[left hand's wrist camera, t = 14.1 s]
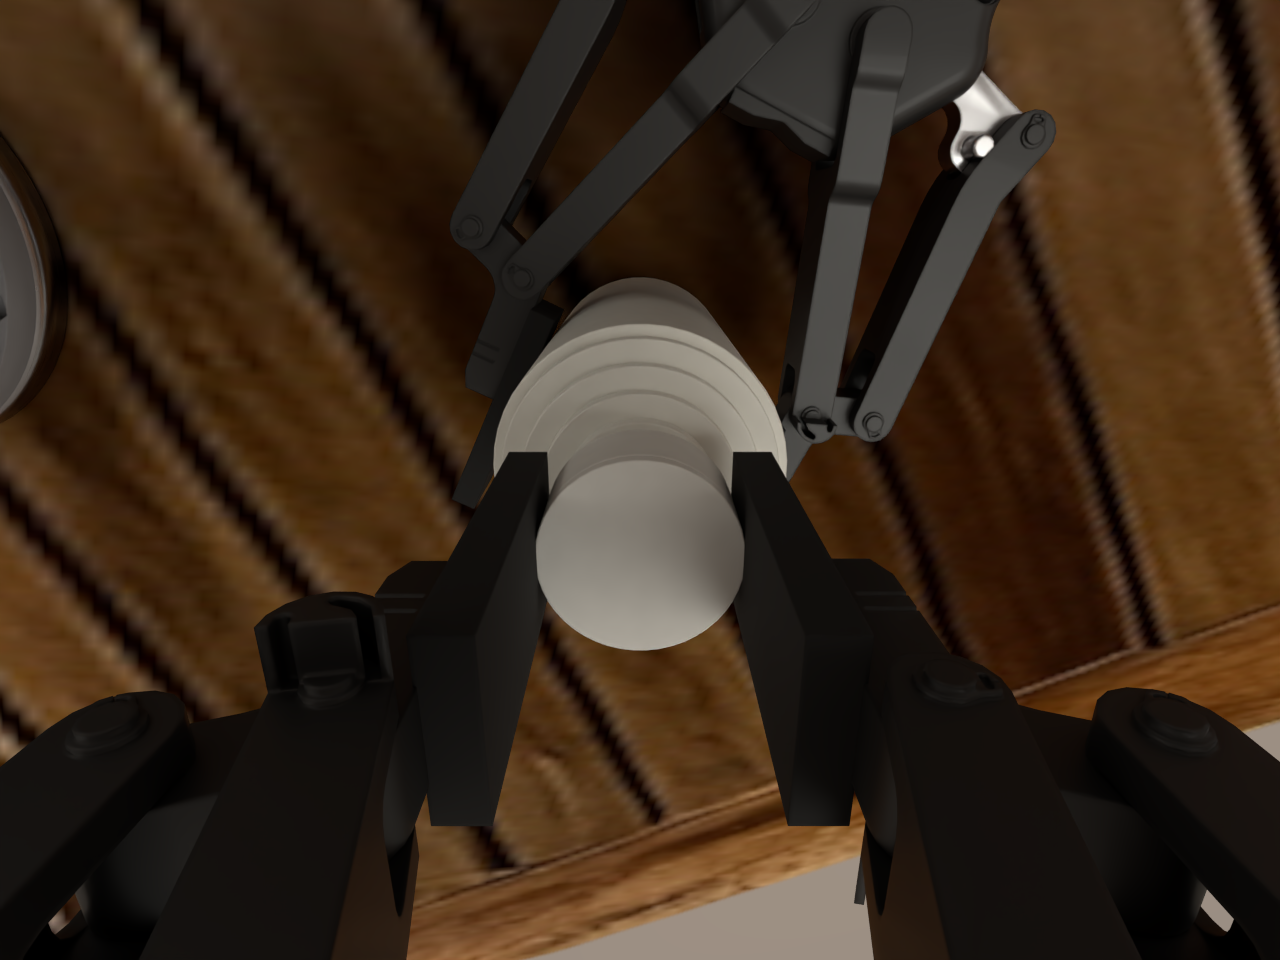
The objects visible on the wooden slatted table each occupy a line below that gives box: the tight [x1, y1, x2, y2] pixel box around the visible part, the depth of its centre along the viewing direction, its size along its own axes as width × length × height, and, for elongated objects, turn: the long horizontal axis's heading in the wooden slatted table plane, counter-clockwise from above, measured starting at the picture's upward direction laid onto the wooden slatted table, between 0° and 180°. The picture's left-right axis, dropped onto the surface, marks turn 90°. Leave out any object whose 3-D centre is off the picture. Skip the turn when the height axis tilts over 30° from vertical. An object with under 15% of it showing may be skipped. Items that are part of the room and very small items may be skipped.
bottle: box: [493, 277, 787, 495], centre depth 21 cm, size 7×7×17 cm
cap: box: [536, 430, 745, 650], centre depth 13 cm, size 4×4×2 cm
